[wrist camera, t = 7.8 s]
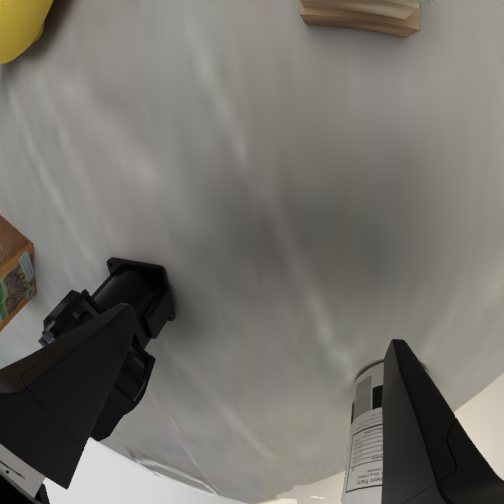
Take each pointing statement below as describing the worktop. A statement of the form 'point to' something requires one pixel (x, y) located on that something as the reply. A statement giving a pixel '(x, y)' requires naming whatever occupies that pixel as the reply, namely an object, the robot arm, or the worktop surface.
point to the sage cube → (422, 1)
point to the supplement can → (365, 440)
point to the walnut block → (361, 20)
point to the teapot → (20, 25)
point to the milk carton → (15, 271)
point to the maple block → (369, 6)
